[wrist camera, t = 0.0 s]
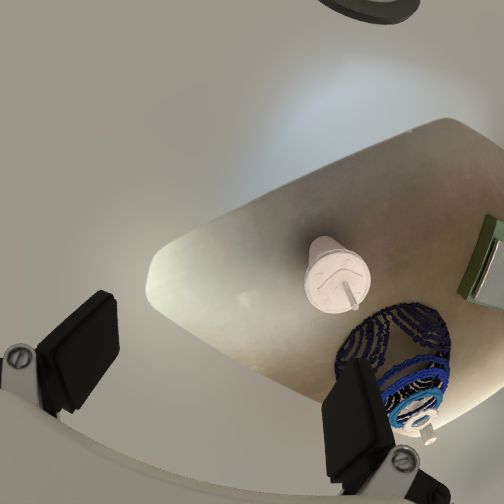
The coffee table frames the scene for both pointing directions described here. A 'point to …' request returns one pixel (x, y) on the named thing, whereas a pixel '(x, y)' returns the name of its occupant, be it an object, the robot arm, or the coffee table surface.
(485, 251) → the scale
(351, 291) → the smoothie
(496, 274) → the scale platform
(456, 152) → the coffee table surface
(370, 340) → the decorative bowl
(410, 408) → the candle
